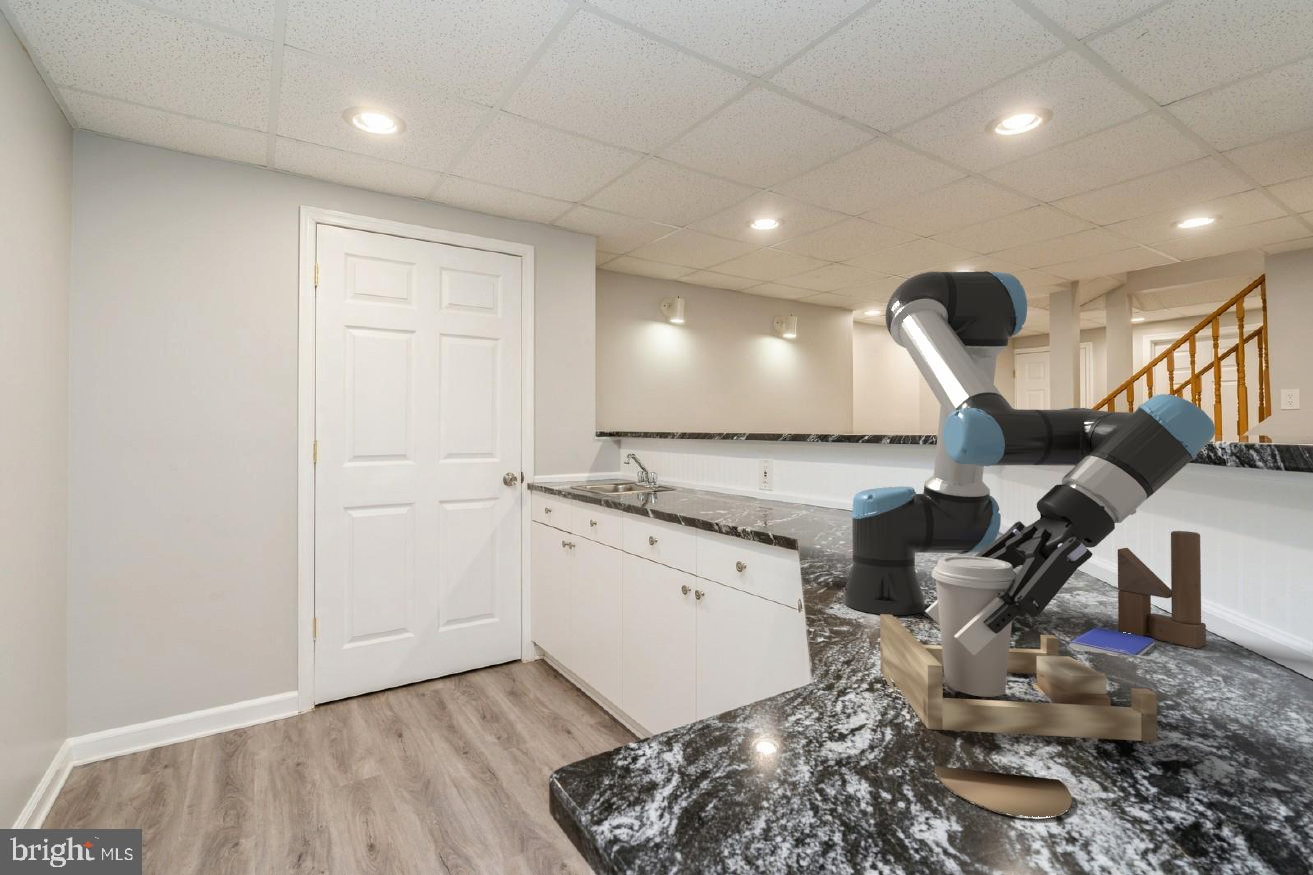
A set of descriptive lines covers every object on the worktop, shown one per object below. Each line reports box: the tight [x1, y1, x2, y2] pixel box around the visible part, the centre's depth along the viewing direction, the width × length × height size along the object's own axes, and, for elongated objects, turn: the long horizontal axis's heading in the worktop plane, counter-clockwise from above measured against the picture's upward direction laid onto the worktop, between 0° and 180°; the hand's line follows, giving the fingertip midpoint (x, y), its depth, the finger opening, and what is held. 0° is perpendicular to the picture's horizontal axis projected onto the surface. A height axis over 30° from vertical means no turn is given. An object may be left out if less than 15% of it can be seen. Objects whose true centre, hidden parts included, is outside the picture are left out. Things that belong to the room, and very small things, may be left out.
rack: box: [879, 614, 1158, 743], centre depth 73 cm, size 22×20×8 cm
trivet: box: [934, 765, 1072, 817], centre depth 56 cm, size 11×11×1 cm
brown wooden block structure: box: [1117, 530, 1207, 649], centre depth 100 cm, size 4×11×18 cm, turn 32°
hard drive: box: [1069, 627, 1156, 657], centre depth 97 cm, size 2×8×12 cm
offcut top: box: [1037, 655, 1107, 695], centre depth 73 cm, size 4×6×2 cm, turn 179°
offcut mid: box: [1036, 673, 1112, 706], centre depth 73 cm, size 5×8×2 cm, turn 164°
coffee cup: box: [930, 555, 1018, 698], centre depth 74 cm, size 10×10×15 cm
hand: (947, 631), depth 74 cm, fingers closed on coffee cup, 9 cm apart
